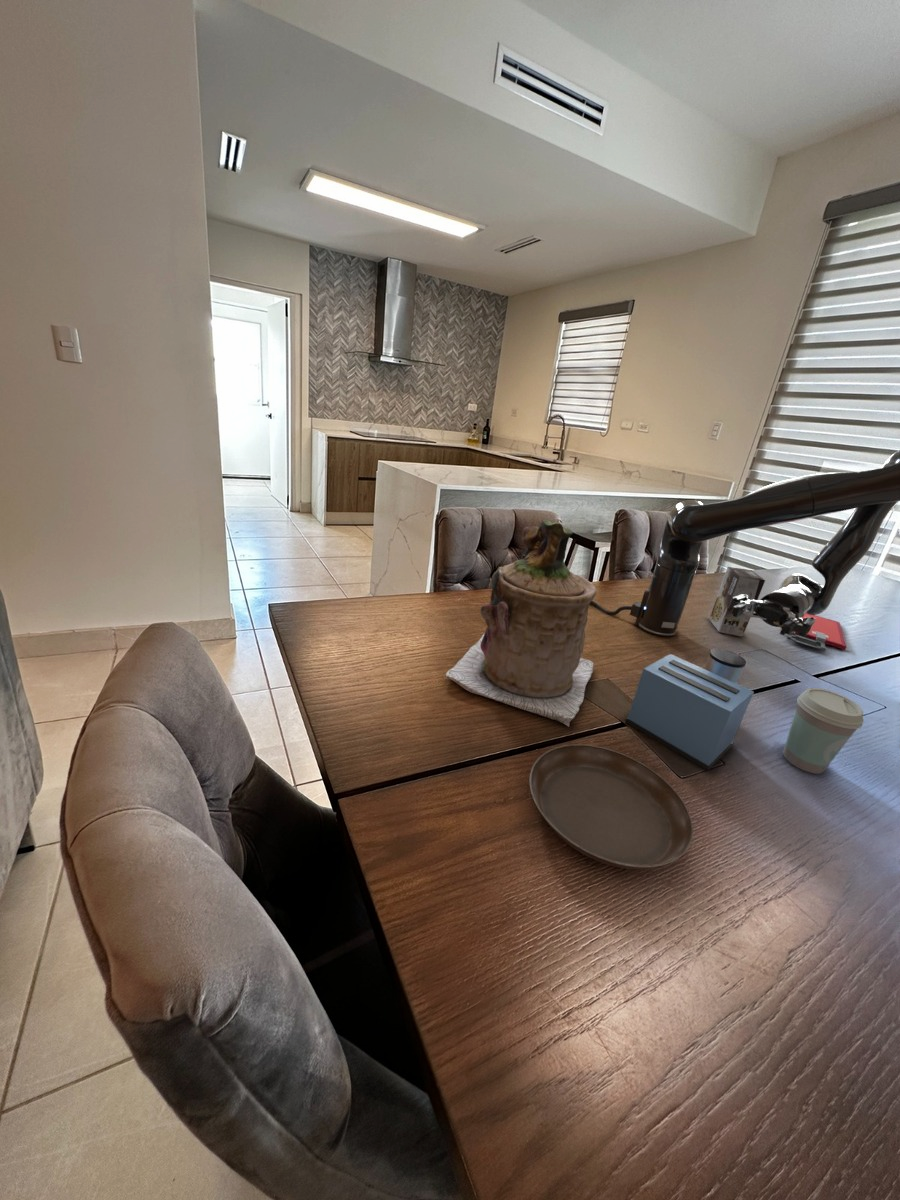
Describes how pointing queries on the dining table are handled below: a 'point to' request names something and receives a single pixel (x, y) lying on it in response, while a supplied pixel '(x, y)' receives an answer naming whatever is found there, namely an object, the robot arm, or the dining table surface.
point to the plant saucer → (610, 807)
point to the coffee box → (733, 586)
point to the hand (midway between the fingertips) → (759, 620)
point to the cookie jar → (533, 632)
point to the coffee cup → (820, 729)
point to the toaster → (688, 709)
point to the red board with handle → (821, 634)
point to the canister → (725, 664)
